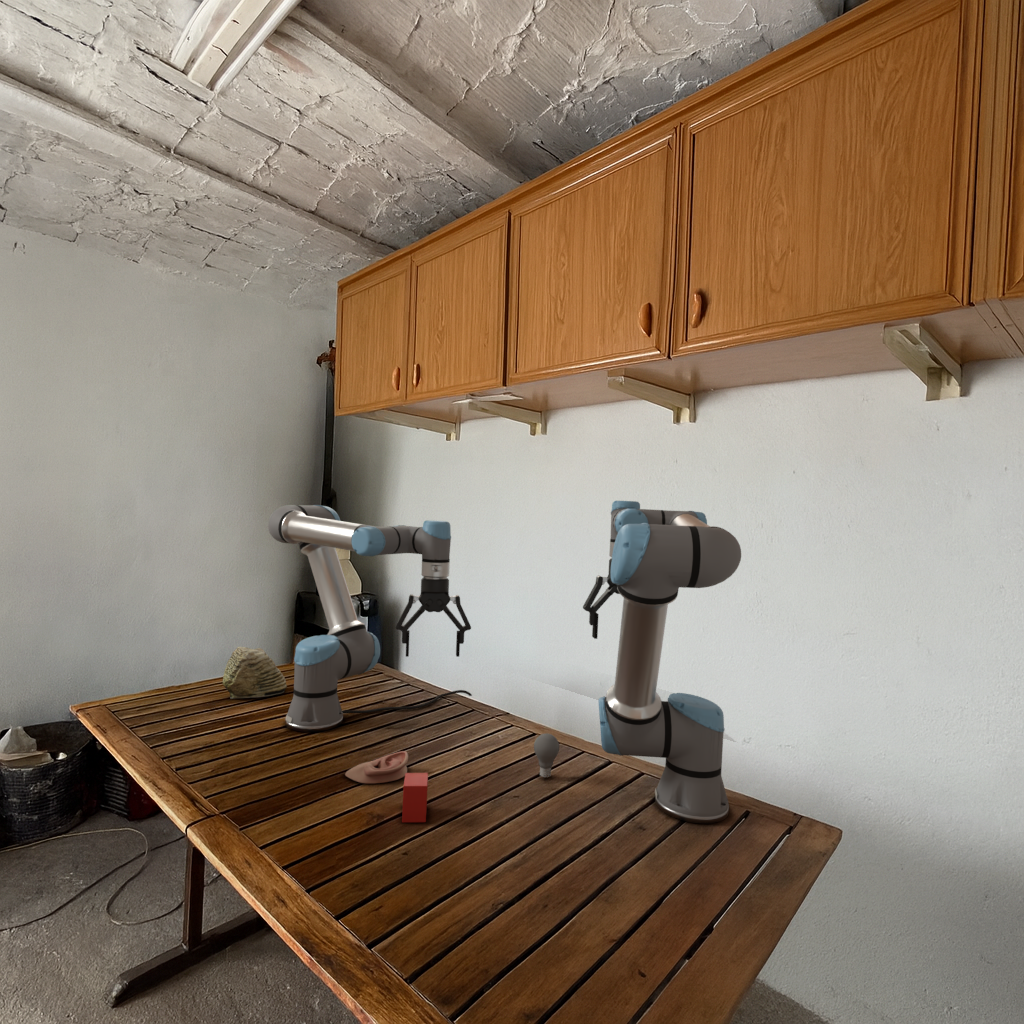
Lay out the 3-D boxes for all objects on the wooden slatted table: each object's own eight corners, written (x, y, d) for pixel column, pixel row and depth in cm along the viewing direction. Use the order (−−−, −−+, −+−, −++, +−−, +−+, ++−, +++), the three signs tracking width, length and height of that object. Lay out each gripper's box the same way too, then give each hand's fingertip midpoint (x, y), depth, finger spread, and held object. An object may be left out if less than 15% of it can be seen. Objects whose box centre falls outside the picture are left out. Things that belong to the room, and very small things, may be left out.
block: (402, 822, 125) (403, 786, 125) (404, 807, 131) (405, 772, 131) (425, 822, 125) (427, 786, 125) (426, 807, 131) (428, 772, 131)
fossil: (218, 695, 195) (220, 647, 195) (278, 685, 208) (279, 640, 207) (228, 703, 189) (230, 653, 188) (289, 692, 201) (290, 645, 201)
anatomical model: (339, 762, 141) (361, 743, 153) (338, 780, 141) (361, 759, 153) (395, 770, 139) (413, 750, 150) (394, 788, 139) (413, 766, 150)
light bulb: (531, 771, 151) (532, 729, 150) (555, 771, 151) (557, 729, 151) (534, 782, 145) (535, 738, 145) (559, 782, 145) (561, 739, 145)
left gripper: (387, 578, 166) (385, 658, 166) (482, 580, 170) (479, 658, 170) (389, 574, 173) (386, 652, 174) (479, 576, 177) (477, 652, 177)
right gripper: (580, 558, 163) (576, 640, 164) (673, 561, 166) (669, 642, 166) (574, 555, 171) (570, 634, 171) (664, 558, 173) (660, 636, 174)
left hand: (432, 655), depth 172 cm, fingers open, 13 cm apart
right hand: (619, 638), depth 169 cm, fingers open, 13 cm apart
